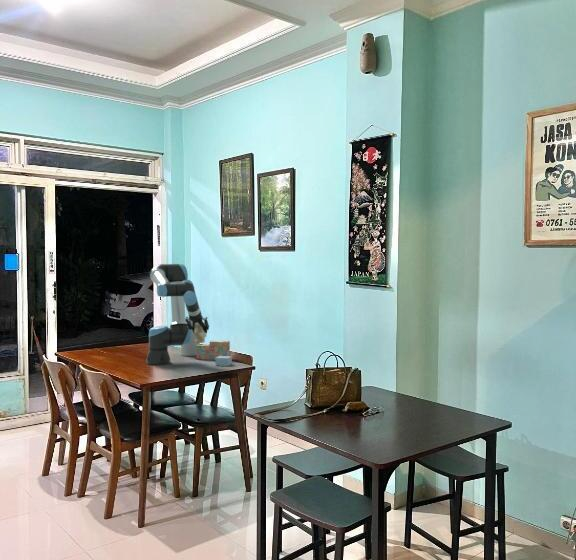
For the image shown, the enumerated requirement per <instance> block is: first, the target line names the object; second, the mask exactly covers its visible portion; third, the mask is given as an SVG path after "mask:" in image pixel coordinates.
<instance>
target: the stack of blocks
mask: <svg viewBox="0 0 576 560" xmlns="http://www.w3.org/2000/svg"><path fill="white" fill-rule="evenodd" d="M230 342H231V341H230V340H215V339H214V340H210V341H209V344H207V343H206V344H204V343H199V345H197V346H196V358H195V359H196V360H204V359H207V361H209V360H211V361H216V357H218V356H230V353H231V351H230V349H231V344H230Z"/></svg>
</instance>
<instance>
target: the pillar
mask: <svg viewBox="0 0 576 560" xmlns="http://www.w3.org/2000/svg"><path fill="white" fill-rule="evenodd" d="M203 323H204V322H203ZM204 324H205V323H204ZM205 341H206V337H205V336H204V332H203V328H202V327H201V325H200V324H199V323H195V343H199V344H204V343H205Z"/></svg>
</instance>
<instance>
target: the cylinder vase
mask: <svg viewBox="0 0 576 560" xmlns="http://www.w3.org/2000/svg"><path fill="white" fill-rule="evenodd" d="M185 320H186V317H185ZM190 322H191V325H193V322H192V321H191V320H190ZM199 344H200V343H195V333H193V330H192V329H191V340H190V343H189V344H188V345H182V346H181V345H180V355H181V356H184V357H195V356H196V346H197V345H199Z"/></svg>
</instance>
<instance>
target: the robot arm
mask: <svg viewBox="0 0 576 560" xmlns="http://www.w3.org/2000/svg"><path fill="white" fill-rule="evenodd" d="M188 275H189V274H188V270H187V267H186V264H185V265H184V264H180V263H165V264H164V263H161V264H157V265H155V266H154V267H152V268H151V270H150V271H149V278H150V280H151V281H152V283H154V284H155V285H156V295H157V297H162V298H166V297H170V304H171V305H170V306H171V321H172V322H171V324H170V325H169V327H168V325H157V326H153V327H151V328H150V329H149V330H148V353H147V357H146V359H145V362H146V365H152V366H154V365H155V366H156V365H157V366H161V365H169V364H170V363H171V356H170V354H169V351H168V349H169V348H168V347H174V346H180V347H181V346H182V345H188V344H189V343H190V340H191V329H192V330H193V333H195V323H199V324H200V325H201V327H202V328H203V332H204V336H205V338H207V336H208V335H207V333H208V331H209V328H210V324H209V322H208V317H207V316H206V317H204V316H203V315H202V311H201V307H200V305H199V302H198V298H197V293H196V290H195V286H194V283H193V281H192V280H190V279H189V278H188V277H189V276H188ZM185 308H186V309H185ZM186 311H187V314H188V316H186ZM185 318H186V320H185ZM190 320H191V321H192V322H193V325H191V322H190ZM204 323H205V324H204Z"/></svg>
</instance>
